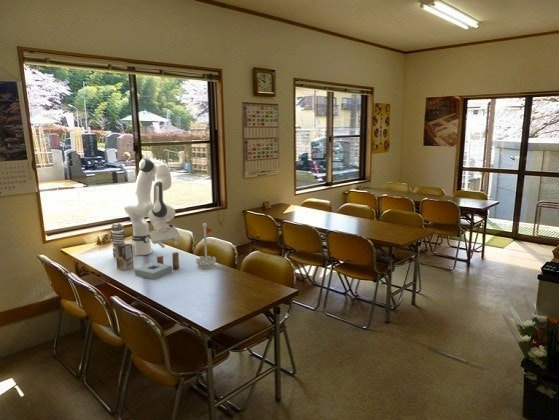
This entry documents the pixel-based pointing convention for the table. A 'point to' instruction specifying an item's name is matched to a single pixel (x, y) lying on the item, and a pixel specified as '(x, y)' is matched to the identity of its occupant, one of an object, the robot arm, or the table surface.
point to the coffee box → (124, 256)
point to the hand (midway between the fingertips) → (169, 245)
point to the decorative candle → (117, 236)
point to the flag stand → (207, 261)
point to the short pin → (160, 259)
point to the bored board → (153, 270)
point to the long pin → (175, 260)
